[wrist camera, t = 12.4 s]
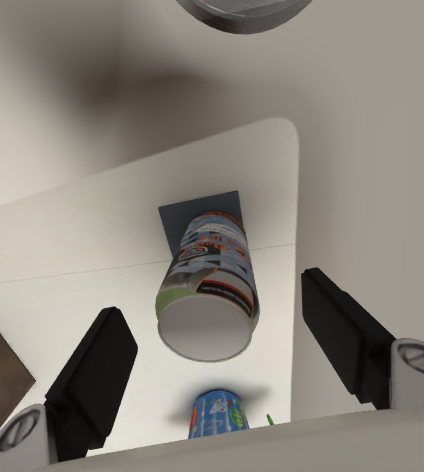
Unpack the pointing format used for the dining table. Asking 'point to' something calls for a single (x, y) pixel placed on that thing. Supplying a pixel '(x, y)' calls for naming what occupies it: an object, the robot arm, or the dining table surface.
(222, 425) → the snack cup
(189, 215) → the mat
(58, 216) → the dining table surface
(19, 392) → the open wooden box
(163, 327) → the beverage can
